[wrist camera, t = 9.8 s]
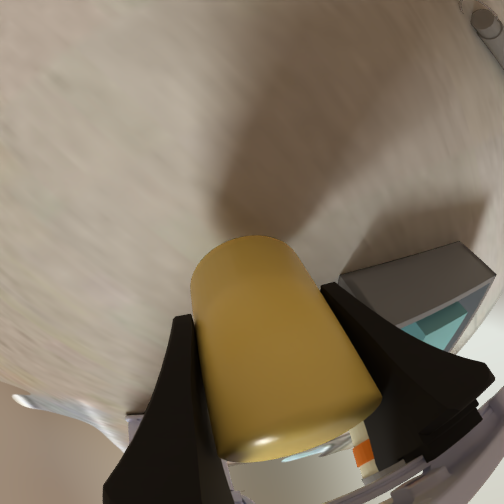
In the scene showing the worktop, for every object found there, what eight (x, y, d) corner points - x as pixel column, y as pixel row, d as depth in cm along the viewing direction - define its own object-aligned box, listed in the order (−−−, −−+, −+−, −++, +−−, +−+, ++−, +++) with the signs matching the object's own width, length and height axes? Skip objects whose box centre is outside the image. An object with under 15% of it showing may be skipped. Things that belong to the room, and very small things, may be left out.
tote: (405, 354, 29) (424, 384, 25) (312, 392, 27) (328, 430, 23) (459, 241, 19) (496, 274, 15) (339, 275, 17) (379, 331, 13)
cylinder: (202, 332, 13) (229, 469, 8) (179, 248, 10) (198, 433, 5) (298, 310, 14) (357, 430, 8) (303, 225, 11) (406, 366, 5)
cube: (371, 330, 21) (400, 374, 17) (387, 287, 19) (425, 335, 15) (413, 313, 22) (442, 351, 18) (431, 272, 19) (467, 312, 15)
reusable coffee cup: (378, 418, 49) (403, 468, 37) (331, 437, 46) (355, 493, 34) (404, 393, 42) (437, 450, 30) (353, 415, 39) (385, 483, 27)
